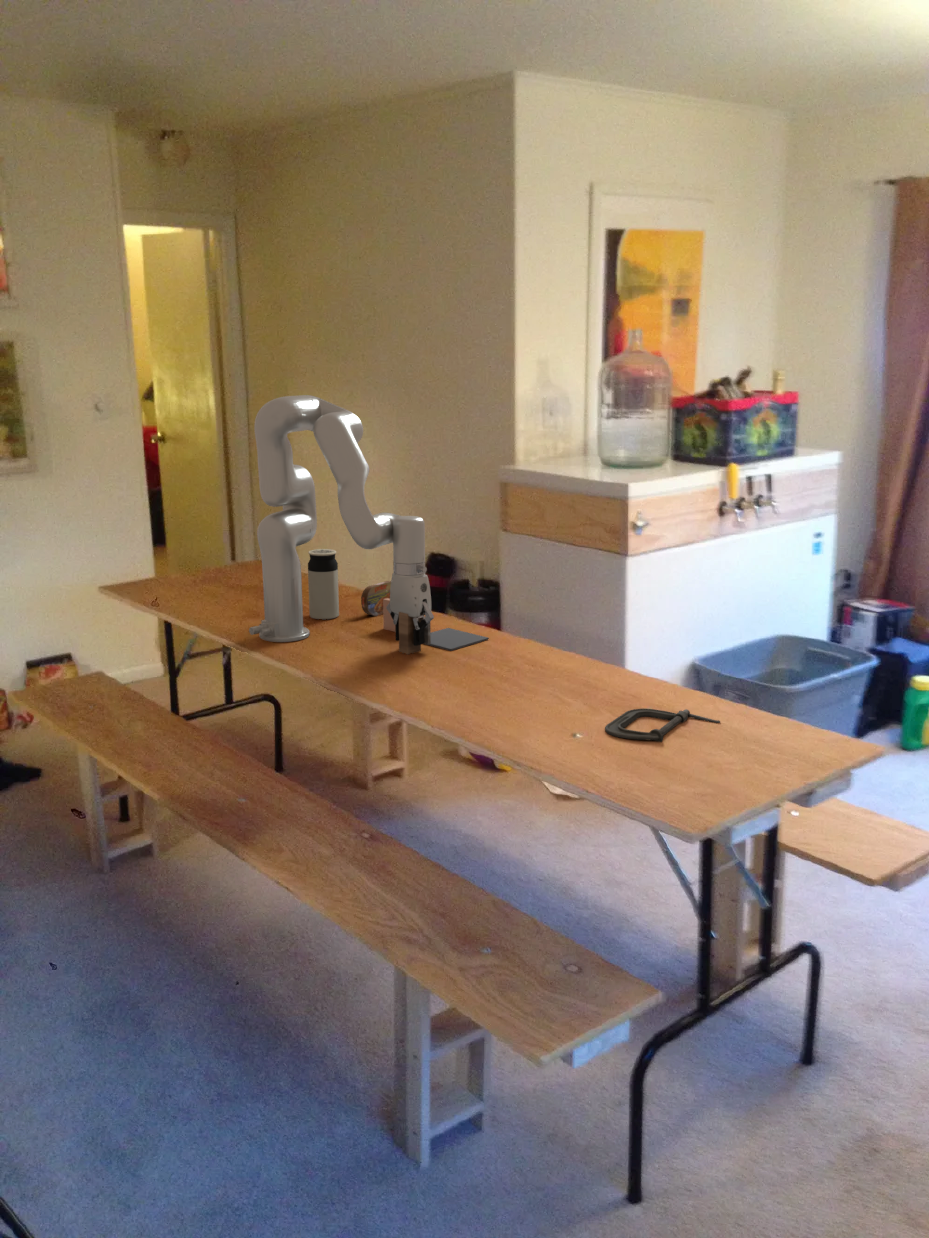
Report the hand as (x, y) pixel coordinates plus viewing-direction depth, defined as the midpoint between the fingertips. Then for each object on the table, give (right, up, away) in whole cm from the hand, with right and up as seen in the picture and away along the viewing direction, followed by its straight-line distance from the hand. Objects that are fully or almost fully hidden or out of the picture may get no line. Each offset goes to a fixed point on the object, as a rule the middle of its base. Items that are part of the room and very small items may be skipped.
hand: (409, 641), depth 258 cm
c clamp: (+51, -16, -49) cm, 73 cm away
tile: (-4, +2, +18) cm, 19 cm away
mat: (+9, 0, +11) cm, 14 cm away
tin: (-10, +7, +38) cm, 40 cm away
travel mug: (-25, +6, +33) cm, 42 cm away
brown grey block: (0, -2, +1) cm, 2 cm away
